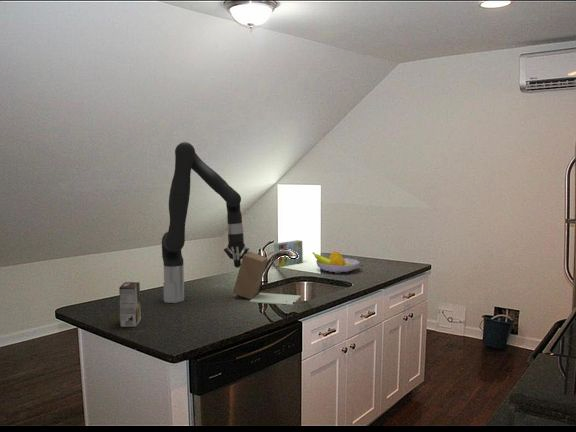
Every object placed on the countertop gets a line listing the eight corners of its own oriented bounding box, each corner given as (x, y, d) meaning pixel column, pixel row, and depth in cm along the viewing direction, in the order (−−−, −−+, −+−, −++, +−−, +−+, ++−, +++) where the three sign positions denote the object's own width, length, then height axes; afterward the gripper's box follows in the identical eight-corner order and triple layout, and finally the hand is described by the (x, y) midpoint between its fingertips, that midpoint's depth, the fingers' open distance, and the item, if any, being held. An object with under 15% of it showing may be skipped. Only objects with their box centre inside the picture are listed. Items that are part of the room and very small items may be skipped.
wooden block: (251, 300, 234) (262, 261, 231) (232, 293, 236) (243, 254, 233) (257, 295, 244) (268, 257, 241) (238, 288, 246) (249, 251, 243)
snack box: (297, 261, 332) (297, 239, 331) (302, 263, 328) (303, 240, 326) (273, 266, 318) (273, 243, 316) (279, 267, 314) (279, 244, 312)
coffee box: (125, 320, 204) (124, 282, 202) (141, 319, 204) (140, 281, 203) (119, 327, 195) (118, 287, 193) (136, 326, 195) (135, 286, 194)
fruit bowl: (365, 269, 306) (365, 251, 305) (346, 277, 284) (347, 258, 283) (326, 264, 321) (326, 247, 320) (305, 272, 299) (305, 253, 298)
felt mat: (292, 305, 225) (292, 304, 225) (249, 302, 231) (249, 301, 231) (300, 296, 241) (300, 295, 241) (260, 293, 246) (260, 292, 246)
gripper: (219, 233, 237) (222, 268, 239) (245, 233, 233) (247, 269, 235) (225, 231, 244) (228, 265, 246) (250, 231, 241) (253, 265, 242)
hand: (237, 267), depth 241 cm, fingers closed
